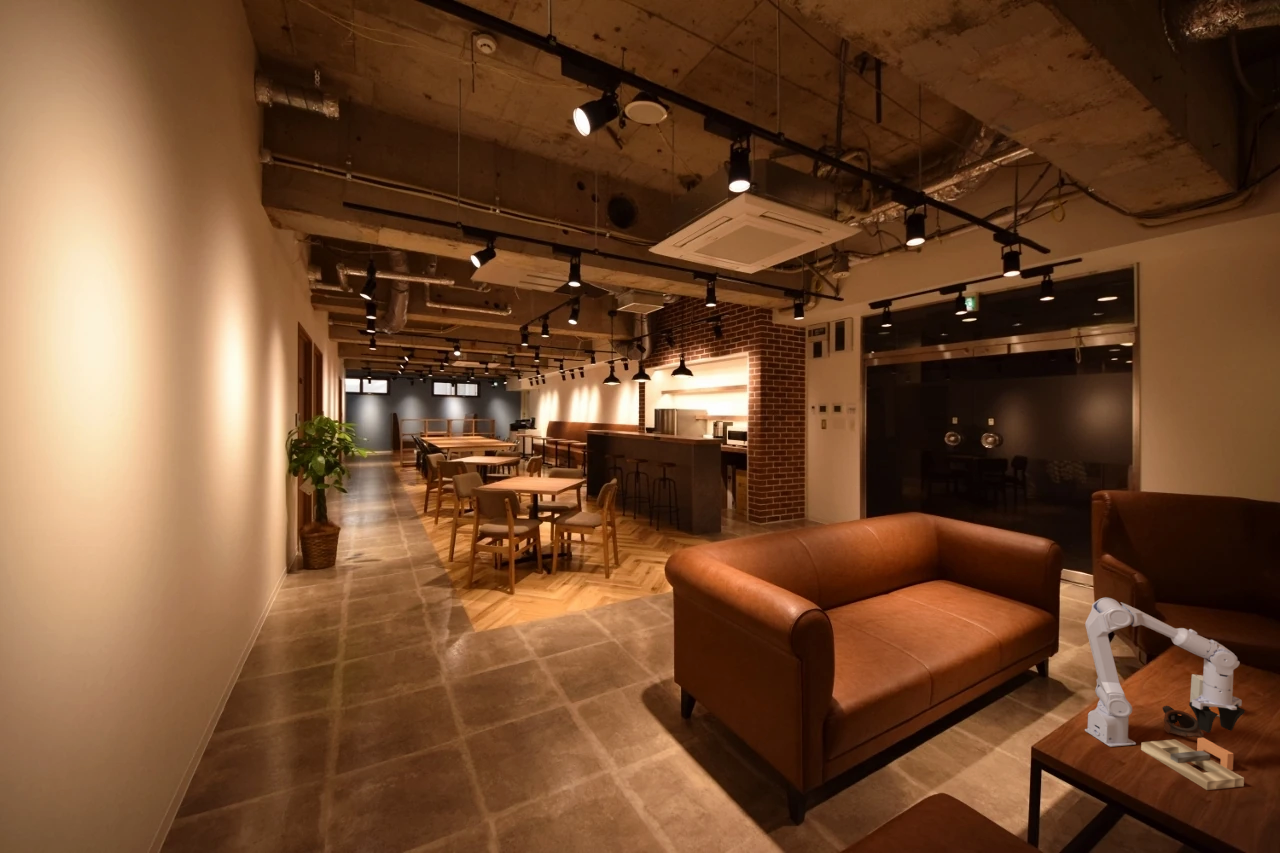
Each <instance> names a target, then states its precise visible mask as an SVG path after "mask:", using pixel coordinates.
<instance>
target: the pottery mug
mask: <svg viewBox="0 0 1280 853" xmlns="http://www.w3.org/2000/svg"><path fill="white" fill-rule="evenodd" d="M1162 711H1163V714H1164V716H1163V717H1164V719H1163V722H1164V727H1163V728H1164V731H1165V732H1166V733H1167V734H1174V735H1178V736H1182V737H1191V738H1192V737H1196V736H1197V737H1198V738H1204V736H1205V733H1204V731H1203V730H1202V729H1200V728H1199V724H1198V721H1197V718H1196V717H1194V716H1193V715H1192V714H1190V713H1188V712H1186V711H1184V710H1180V709H1174V708H1173V707H1171V706H1170V705H1164V706H1163V707H1162ZM1177 723H1178V724H1179V726H1177V725H1175V724H1177Z"/></svg>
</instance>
